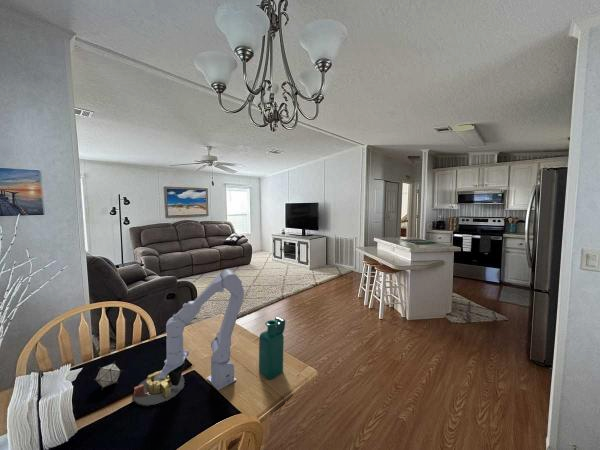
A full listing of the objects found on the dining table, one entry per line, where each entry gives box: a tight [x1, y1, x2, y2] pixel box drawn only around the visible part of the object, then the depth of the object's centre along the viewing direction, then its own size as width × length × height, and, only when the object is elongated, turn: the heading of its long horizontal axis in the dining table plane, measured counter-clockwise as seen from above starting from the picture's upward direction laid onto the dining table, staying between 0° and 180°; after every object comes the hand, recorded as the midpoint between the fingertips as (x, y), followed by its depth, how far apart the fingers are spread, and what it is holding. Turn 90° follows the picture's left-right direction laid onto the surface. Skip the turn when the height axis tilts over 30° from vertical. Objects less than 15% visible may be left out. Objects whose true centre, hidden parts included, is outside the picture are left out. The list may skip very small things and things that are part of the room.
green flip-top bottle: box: [258, 316, 286, 380], centre depth 109 cm, size 10×8×22 cm
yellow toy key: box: [146, 369, 172, 398], centre depth 96 cm, size 12×9×4 cm
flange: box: [132, 373, 185, 407], centre depth 98 cm, size 17×17×5 cm
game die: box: [93, 360, 124, 391], centre depth 99 cm, size 9×8×10 cm
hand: (175, 384), depth 97 cm, fingers closed
